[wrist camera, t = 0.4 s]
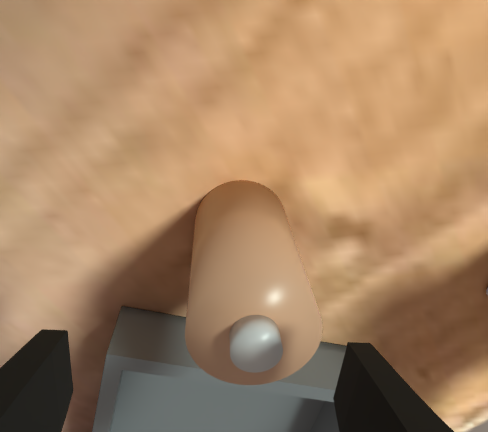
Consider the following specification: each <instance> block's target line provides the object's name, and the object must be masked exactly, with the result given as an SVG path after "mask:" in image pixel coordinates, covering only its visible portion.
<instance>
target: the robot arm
mask: <svg viewBox="0 0 488 432" xmlns="http://www.w3.org/2000/svg"><path fill="white" fill-rule="evenodd" d="M486 293H487V295H488V288H487V291H486ZM72 393H73V383H72V373H71V363H70V352H69V342H68V332H67V331H66V330H41V331H40V332H39V333H37V334H36V335H35V336H34V337H33V338H32V339H31V340H30V341H29V342H28V343H27V344H26V345H25V346H23V347H22V348H21V349H20V350H19V351H18V352H17V353H16V354H15V355H14V356H13V357H12V358H11V359H10V360H9V361H7V362H6V363H5V364H4V365H3V366H2V367H1V368H0V432H61V431H62V427H63V424H64V421H65V418H66V414H67V411H68V407H69V404H70V400H71V397H72ZM333 400H334V406H335V411H336V417H337V422H338V427H339V432H454V431H453V430H452V429H451V428H450V427H449V426H448V425H446V424H445V423H444V422H443V421H442V420H441V419H440V418H439V417H438V416H437V415H436V414H435V413H434V412H433V411H432V409H431V408H430V407H429V406H428V405H427V404H426V403H425V402H424V401H423V400H422V399H421V398H420V397H419V396H418V395H417V394H416V393H415V392H414V391H413V390H412V388H411V387H410V386H409V385H408V384H407V383H406V382H405V381H404V380H403V379H402V378H401V377H400V375H399V374H398V373H397V372H396V371H395V370H394V369H393V368H392V367H391V365H390V364H389V363H388V362H387V361H386V360H385V359H384V358H383V357H382V356H381V354H380V353H379V352H378V351H377V350H376V349H375V348H374V347H373V346H372V345H371V344H370V343H351V342H348V344H347V347H346V351H345V355H344V359H343V363H342V367H341V370H340V374H339V378H338V382H337V386H336V389H335V393H334V397H333Z"/></svg>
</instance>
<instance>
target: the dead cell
mask: <svg viewBox="0 0 488 432" xmlns="http://www.w3.org/2000/svg"><path fill="white" fill-rule="evenodd" d="M322 333H323V323H322V317H321V314H320V311H319V308H318V305H317V302H316V300H315V297H314V294H313V291H312V288H311V285H310V282H309V280H308V277H307V274H306V271H305V268H304V265H303V262H302V259H301V257H300V254H299V251H298V248H297V245H296V242H295V239H294V236H293V234H292V231H291V228H290V225H289V222H288V219H287V216H286V214H285V211H284V208H283V205H282V203H281V201H280V200H279V198H278V197H277V196H276V195H275V194H274V193H273V192H272V191H271V190H270V189H268V188H267V187H265V186H263V185H261V184H259V183H256V182H252V181H244V180H239V181H232V182H227V183H224V184H222V185H220V186H218V187H216V188H214V189H213V190H212V191H210V192H209V193H208V194H207V195H206V196H205V197H204V199H203V200H202V202H201V203H200V205H199V207H198V210H197V213H196V218H195V229H194V240H193V251H192V261H191V272H190V283H189V293H188V304H187V315H186V326H185V341H186V346H187V349H188V352H189V353H190V355H191V357H192V359H193V360H194V361H195V363H196V364H197V365H198V366H199V367H200V368H201V369H202V370H204V371H205V372H206V373H208V374H209V375H211V376H213V377H215V378H217V379H219V380H222V381H225V382H228V383H233V384H239V385H261V384H267V383H271V382H275V381H278V380H281V379H283V378H286V377H288V376H289V375H291V374H293V373H295V372H296V371H298V370H299V369H300V368H302V367H303V366H304V365H305V364H306V363H307V362H308V361H309V360H310V359H311V358H312V356H313V355H314V354H315V352H316V350H317V348H318V347H319V344H320V341H321V338H322Z"/></svg>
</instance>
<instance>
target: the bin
mask: <svg viewBox="0 0 488 432" xmlns="http://www.w3.org/2000/svg"><path fill="white" fill-rule="evenodd" d="M185 326H186V317H181V316H175V315H170V314H164V313H159V312H153V311H147V310H142V309H136V308H131V307H125V306H122V307H121V310H120V313H119V316H118V319H117V322H116V326H115V329H114V332H113V335H112V338H111V341H110V345H109V348H108V351H107V354H106V360H105V365H104V370H103V376H102V381H101V387H100V392H99V397H98V403H97V408H96V414H95V419H94V424H93V430H92V432H339V427H338V422H337V417H336V411H335V406H334V400H333V397H334V393H335V389H336V386H337V382H338V378H339V374H340V370H341V367H342V363H343V359H344V355H345V351H346V347H347V346H343V345H338V344H332V343H327V342H321V341H320V344H319V347H318V348H317V350H316V352H315V354H314V355H313V356H312V358H311V359H310V360H309V361H308V362H307V363H306V364H305V365H304V366H303V367H302V368H300V369H299V370H298V371H296V372H295V373H293V374H291V375H289V376H288V377H286V378H283V379H281V380H278V381H275V382H271V383H267V384H261V385H239V384H233V383H228V382H225V381H222V380H219V379H217V378H215V377H213V376H211V375H209V374H208V373H206V372H205V371H204V370H202V369H201V368H200V367H199V366H198V365H197V364H196V363H195V361H194V360H193V359H192V357H191V355H190V353H189V352H188V349H187V346H186V341H185Z"/></svg>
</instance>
